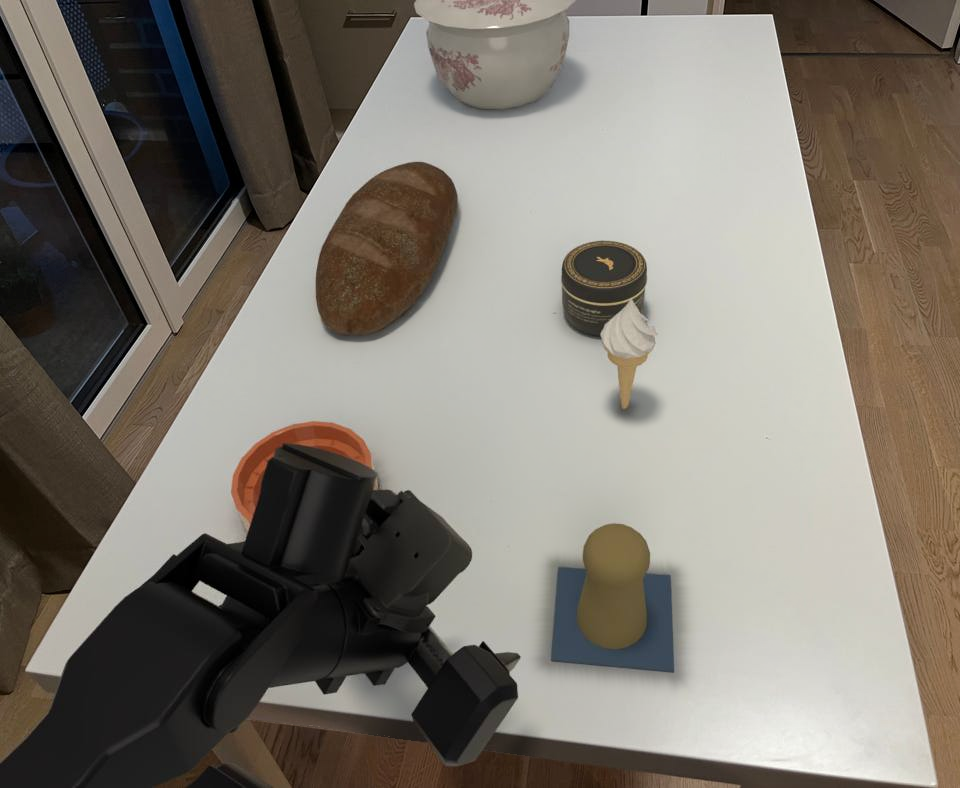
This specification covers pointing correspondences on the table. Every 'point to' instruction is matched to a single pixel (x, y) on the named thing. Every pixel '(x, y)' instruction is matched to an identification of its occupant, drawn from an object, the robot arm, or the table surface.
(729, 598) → the table surface
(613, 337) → the ice cream cone
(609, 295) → the jar
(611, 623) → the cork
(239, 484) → the bowl
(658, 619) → the mat
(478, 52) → the chamber pot
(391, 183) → the bread
